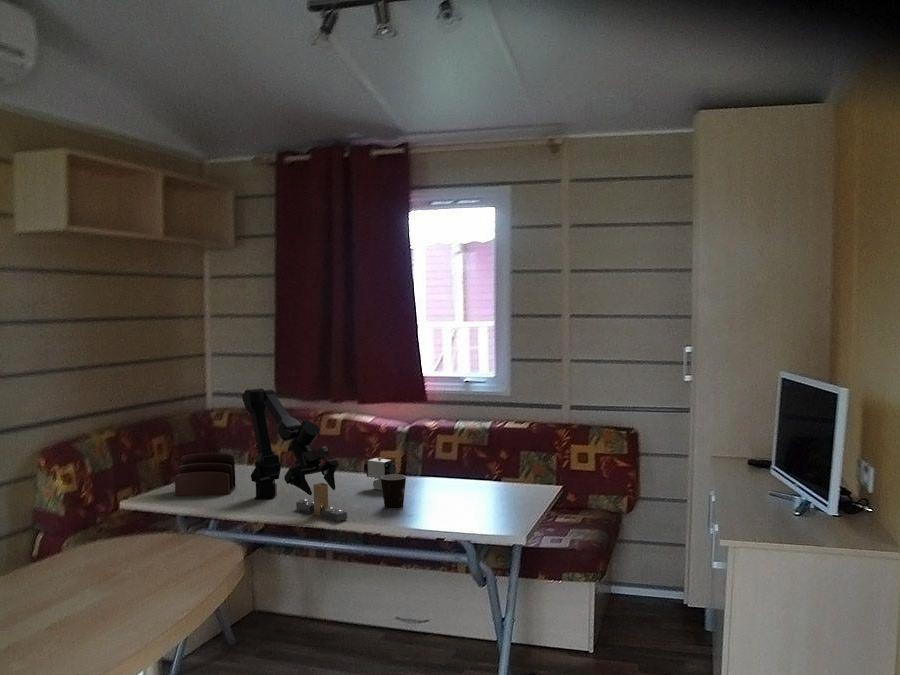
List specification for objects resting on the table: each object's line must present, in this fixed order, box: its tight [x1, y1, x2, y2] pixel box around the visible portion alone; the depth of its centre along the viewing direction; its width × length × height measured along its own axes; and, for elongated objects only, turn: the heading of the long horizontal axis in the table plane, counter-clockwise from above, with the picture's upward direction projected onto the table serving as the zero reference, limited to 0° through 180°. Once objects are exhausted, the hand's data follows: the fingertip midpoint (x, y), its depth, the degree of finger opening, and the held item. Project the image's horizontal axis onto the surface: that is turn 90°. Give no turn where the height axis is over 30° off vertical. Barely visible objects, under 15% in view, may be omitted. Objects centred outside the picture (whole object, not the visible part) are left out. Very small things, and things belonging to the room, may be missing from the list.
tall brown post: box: [312, 482, 329, 517], centre depth 258 cm, size 4×3×10 cm
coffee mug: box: [381, 473, 407, 509], centre depth 266 cm, size 12×9×10 cm
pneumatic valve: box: [363, 456, 397, 491], centre depth 293 cm, size 6×12×12 cm, turn 59°
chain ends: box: [295, 498, 348, 523], centre depth 259 cm, size 23×4×3 cm, turn 44°
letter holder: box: [174, 452, 236, 497], centre depth 292 cm, size 10×20×14 cm, turn 93°
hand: (323, 491), depth 257 cm, fingers open, 9 cm apart
